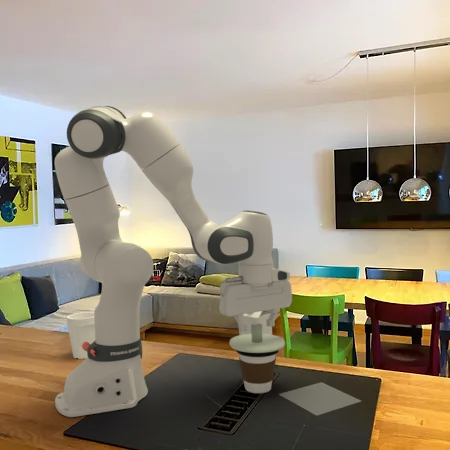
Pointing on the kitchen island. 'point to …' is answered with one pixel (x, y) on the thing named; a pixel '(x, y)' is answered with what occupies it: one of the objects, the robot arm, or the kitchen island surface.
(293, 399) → the mat
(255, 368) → the coffee cup
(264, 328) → the milk carton
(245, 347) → the lid
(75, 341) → the foam cup
